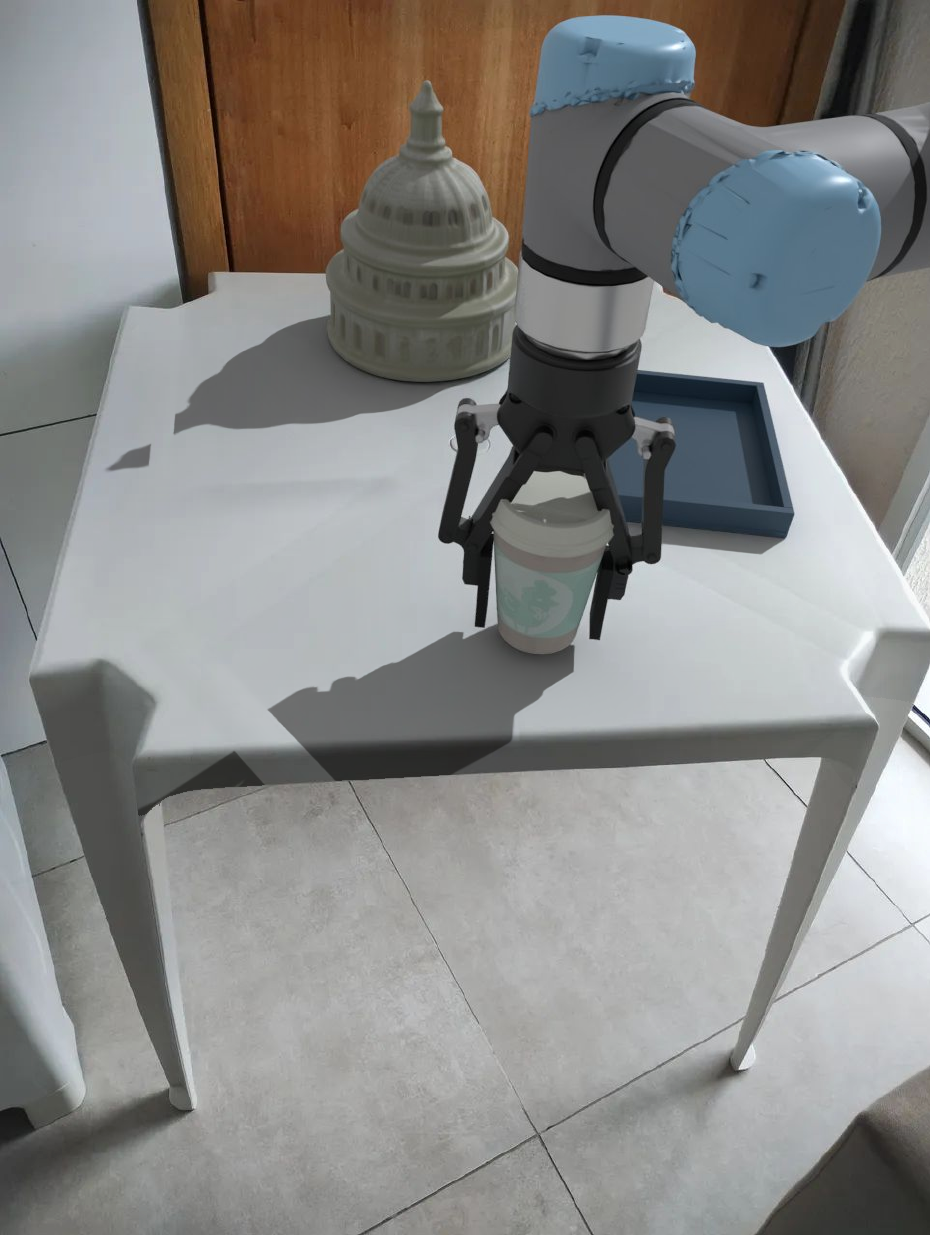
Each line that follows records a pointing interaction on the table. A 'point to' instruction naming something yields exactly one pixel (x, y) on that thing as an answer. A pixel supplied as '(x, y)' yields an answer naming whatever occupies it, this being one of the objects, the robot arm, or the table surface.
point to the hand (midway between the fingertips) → (537, 620)
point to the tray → (709, 456)
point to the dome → (423, 266)
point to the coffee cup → (547, 560)
